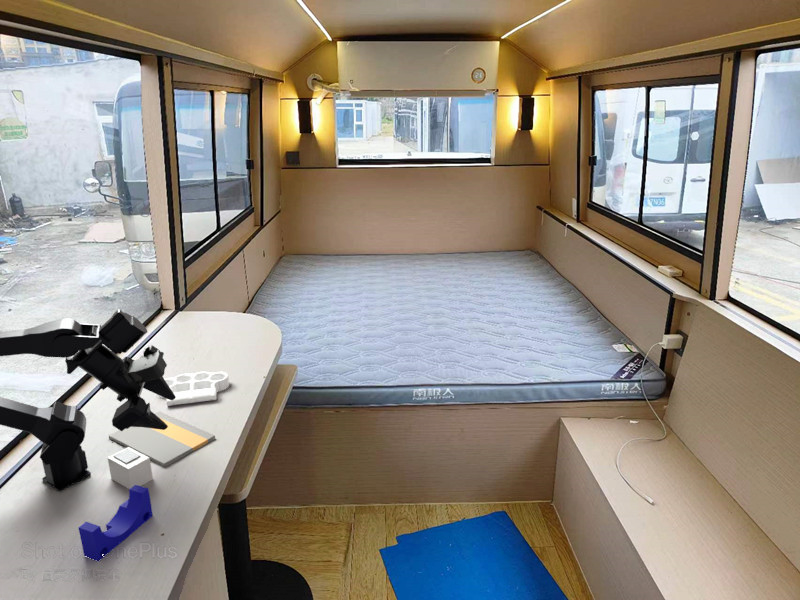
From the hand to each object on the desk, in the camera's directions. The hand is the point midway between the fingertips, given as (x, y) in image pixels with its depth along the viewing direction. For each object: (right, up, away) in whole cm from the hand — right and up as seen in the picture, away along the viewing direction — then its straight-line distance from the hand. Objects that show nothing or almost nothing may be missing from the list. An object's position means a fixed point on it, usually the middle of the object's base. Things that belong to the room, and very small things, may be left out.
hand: (170, 413), depth 120 cm
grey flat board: (-5, -7, +9) cm, 13 cm away
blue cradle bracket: (-1, -17, -20) cm, 27 cm away
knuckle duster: (-6, -1, +31) cm, 31 cm away
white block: (-6, -12, -5) cm, 14 cm away
